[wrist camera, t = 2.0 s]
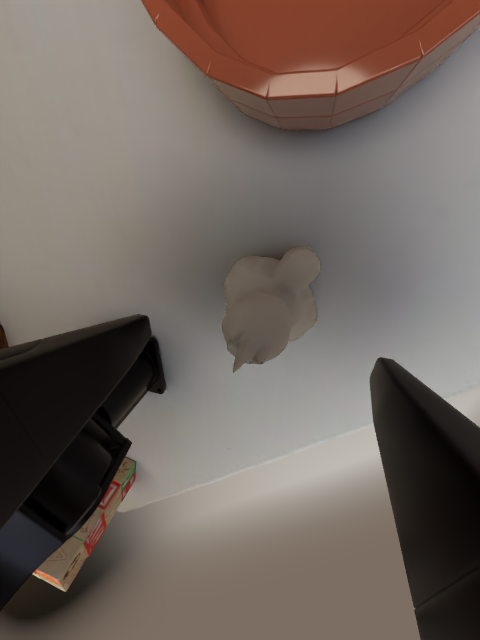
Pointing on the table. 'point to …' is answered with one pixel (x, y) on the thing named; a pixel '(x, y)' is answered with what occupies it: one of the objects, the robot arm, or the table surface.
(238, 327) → the grey rounded figurine
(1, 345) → the mug
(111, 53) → the table surface
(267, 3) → the bowl
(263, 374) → the table surface
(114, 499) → the stack of blocks
